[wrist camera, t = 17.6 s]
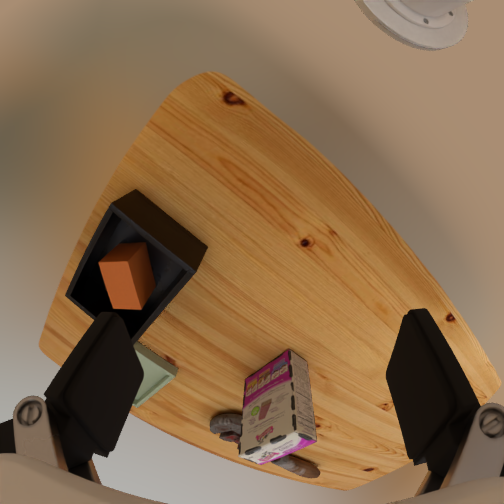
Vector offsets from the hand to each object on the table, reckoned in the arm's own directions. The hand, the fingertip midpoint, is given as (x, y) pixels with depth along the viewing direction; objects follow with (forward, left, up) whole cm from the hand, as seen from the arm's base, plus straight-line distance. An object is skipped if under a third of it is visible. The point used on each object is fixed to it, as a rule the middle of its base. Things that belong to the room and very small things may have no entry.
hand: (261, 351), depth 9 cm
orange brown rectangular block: (+10, -19, -28) cm, 35 cm away
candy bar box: (+32, 0, -29) cm, 43 cm away
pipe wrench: (+61, 0, -29) cm, 67 cm away
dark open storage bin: (+10, -19, -29) cm, 36 cm away
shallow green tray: (+34, -28, -29) cm, 53 cm away
